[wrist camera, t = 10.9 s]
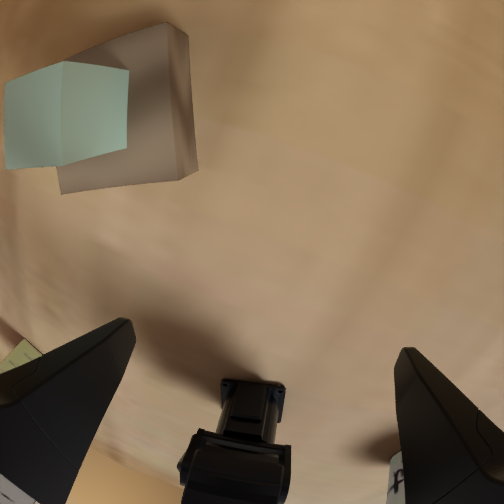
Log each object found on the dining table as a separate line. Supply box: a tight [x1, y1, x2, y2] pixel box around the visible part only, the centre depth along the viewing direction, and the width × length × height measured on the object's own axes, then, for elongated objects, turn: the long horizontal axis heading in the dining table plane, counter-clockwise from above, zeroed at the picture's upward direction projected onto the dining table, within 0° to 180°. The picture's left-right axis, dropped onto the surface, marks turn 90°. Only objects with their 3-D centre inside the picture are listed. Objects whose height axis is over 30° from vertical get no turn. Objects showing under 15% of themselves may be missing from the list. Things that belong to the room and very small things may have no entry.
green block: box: [4, 61, 129, 170], centre depth 13 cm, size 5×5×6 cm
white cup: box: [386, 451, 405, 504], centre depth 28 cm, size 10×15×10 cm
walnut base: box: [56, 22, 198, 195], centre depth 18 cm, size 10×10×4 cm
